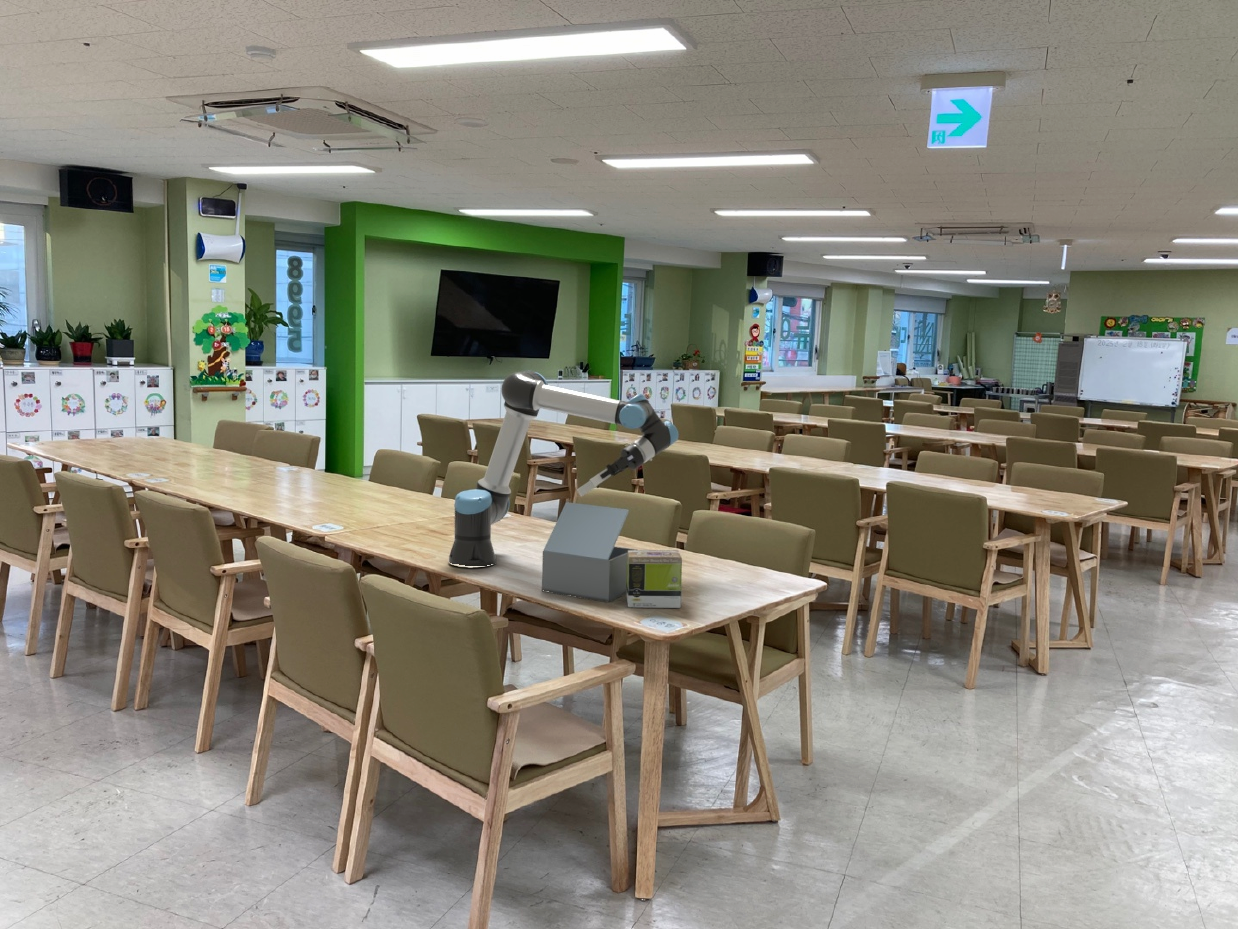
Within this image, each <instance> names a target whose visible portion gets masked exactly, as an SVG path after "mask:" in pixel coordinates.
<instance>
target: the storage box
mask: <svg viewBox="0 0 1238 929" xmlns="http://www.w3.org/2000/svg"><path fill="white" fill-rule="evenodd" d="M627 550H638V549H635V548H629V547H621V546H614V548H613V551H612V553H611V555H610V558H609V560H608V561H606V560H599V559H593V558H586V557H579V556H572V555H565V554H559V553H552V552H545V551H544V550H542V565H541V566H542V567H541V568H542V569H541V570H542V572H541V574H542V575H541V591H542V590H544V591H549V592H553V593H552V594H555V593H557V595H561V594H562V595H561V596H567V595H571V596H570V597H572V596H576V597H575V598H578V597H581V598H580V599H584V598H585V600H590V599H591V600H590V601H595V602H596V601H598V602H602V601H603V603H611V602H612V601H615V600H617V599H619V598H621V597H623V596H625V595H626V584H627ZM549 592H548V593H549ZM622 595H623V596H622Z"/></svg>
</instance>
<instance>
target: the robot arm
mask: <svg viewBox="0 0 1238 929" xmlns="http://www.w3.org/2000/svg"><path fill="white" fill-rule="evenodd" d="M500 389H501V390H500V392H501V395H502V399H503V401H504V403H503V408H504V409H505V415H504V417H503V420H502V424H501V426H500V428H499V429H500V430H499V432H498V435H497V439H496V442H495V444H494V447H493V450H492V454H491V457H490V459H489V463H488V465H487V468H486V471H485V474H484V477H483V478H480V479H479V480H477V483H476V486H475V489H468V490H463V491H460V492H459V493H457V494H456V495H455V498H454V504H453V506H454V541H453V543H452V546H451V549H450V552H449V555H448V563H449V562H450V563H452V564H459V565H465V566H487V565H491V564H495V563H496V561H497V557H496V553H495V551H494V550H495V549H494V547H493V544H492V539H491V538H492V537H491V536H492V535H491V534H492V533H491V532H492V525H493V524H496V523H498V522H500V521H501V520H503V519H504V517H505V516H506V515H507V514H508V511H509V510H510V509H509V508H510V495H511V493H512V490H511V488H510V486H509V485H510V483H511V479H512V475H513V473H514V470H515V468H516V465H517V463H518V459H519V456H520V453H521V450H522V447H523V444H524V442H525V438H526V435H527V433H528V431H529V426H530V424H531V421H532V420H533V419H535V418H537V417H538V415H539V413H540V410H541V409H543V410H548V411H552V412H558V413H562V414H566V415H571V416H575V417H581V418H585V419H591V420H595V421H600V422H604V423H608V424H614V425H619V426H622V427H625V428H626V429H631V430H637V429H638V430H639V431H640V433H641V434H642V436H640V437H639V438H637V439H636V440H634V441H632V443H630V444H628V445H627V446H625V447H624V448H622V449H621V451H620V457H619V458H617V459H616V460H615V461H614V462H613V463H612V464H610V463H608V464H607V465H605V469H603V470H602V471H600V472H598V473H597V474H596V475H594V476H593V477H591V478H589V480H588V481H587V482H586V483H584V484H583V485H581V486H580V487H578V488H577V489H576V492H577V493H578V494H579V496H580V498H581V497H583V496H585V495H586V494H588V493H590V492H591V491H592V490H595V488H596V489H599V488H600V484H602V483H603V482H605V481H606V480H608V479H609V478H611V477H612V476H613V477H614V476H617V475H618V474H619V473H622V472H624V471H625V470H626V469H630V470H634V471H635V470H637V469H638V468H640V467H641V466H643V465H644V464H645V463H646V462H648V461H650V462H652V461H653V458H654V457H656V456H658V455H659V454H660V453H662V452H663V451H665V450H667V449H668V448H669V447H671V446H672V445H673V444H675V443H676V442H677V441H678V439H679V436H680V435H679V431H678V429H677V427H676V425H675V424H673V423H672V422H671V421H669V420H666V421H662V419H661V418H660V416H659V415H658V413H657V412H656V411H655V409H654V408H653V406H652V404H651V403H650V401H649V399H647V398H646V396H645V395H644V394H643V393H638V394H636V395H635V396H633V397H631V398H630V399H628V400H627V401H625V400H620V399H619V400H618V399H614V398H610V397H605V396H602V395H601V396H600V395H596V394H591V393H586V392H581V391H576V390H572V389H566V388H562V387H558V386H553V385H549V384H548V381H547V379H546V378H545V377H544V376H543V375H542V374H541V373H538V372H536V371H532V370H524V371H515V372H512V373H511V374H509V375H508V376H506V377H505V378H504V379H503V381H502V384H501V388H500ZM495 565H496V564H495Z"/></svg>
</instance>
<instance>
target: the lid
mask: <svg viewBox="0 0 1238 929" xmlns="http://www.w3.org/2000/svg"><path fill="white" fill-rule="evenodd" d="M629 513H630V509H627V508H626V509H625V508H619V507H618V508H616V507H610V506H600V505H593V504H585V503H584V504H583V503H576V502H565V504H564V506H563V508H562V510H561V512H560V514H559V517H558V518H557V521H556V523H555V525H554V527H553V529H552V531H551V534H550V536H549V538H548V540H547V542H546V544H545V546H544V548H543V551H545V552H552V553H559V554H565V555H572V556H579V557H586V558H593V559H599V560H606V561H608V560H609V558H610V555H611V553H612V551H613V548H614V546H615V545H616V544H617V541H618V539H619V537H620V534H621V532H622V529H623V526H624V524H625V522H626V520H627V517H628V515H629Z"/></svg>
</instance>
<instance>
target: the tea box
mask: <svg viewBox="0 0 1238 929" xmlns="http://www.w3.org/2000/svg"><path fill="white" fill-rule="evenodd" d="M679 551H680V550H678V549H676V550H675V549H673V550H666V549H663V550H662V549H660V550H658V549H637V550H627V584H626V594H625V595H626V600H627V607H628V608H637V609H638V608H641V609H644V608H650V609H651V608H654V609H655V608H656V609H657V608H660V609H664V608H665V609H681V608H682V607H681V606H682V580H683V579H682V578H683V577H682V575H683V574H682V573H683V572H682V569H683V567H682V566H683V564H682V563H683V558H682V556H681V553H680V552H679Z"/></svg>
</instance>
